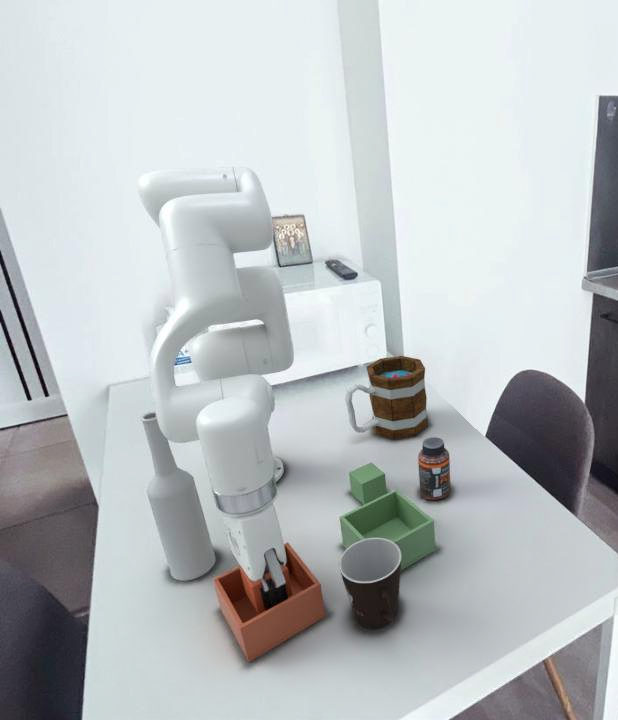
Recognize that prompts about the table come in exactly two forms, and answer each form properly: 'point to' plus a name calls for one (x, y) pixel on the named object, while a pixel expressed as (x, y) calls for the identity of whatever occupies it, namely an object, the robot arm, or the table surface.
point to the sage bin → (391, 526)
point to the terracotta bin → (279, 620)
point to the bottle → (177, 509)
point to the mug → (393, 398)
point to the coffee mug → (372, 581)
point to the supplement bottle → (434, 469)
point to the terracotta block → (254, 587)
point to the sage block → (367, 483)
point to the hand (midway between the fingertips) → (268, 591)
